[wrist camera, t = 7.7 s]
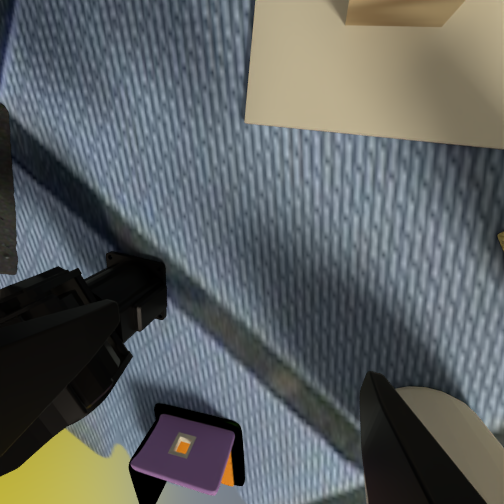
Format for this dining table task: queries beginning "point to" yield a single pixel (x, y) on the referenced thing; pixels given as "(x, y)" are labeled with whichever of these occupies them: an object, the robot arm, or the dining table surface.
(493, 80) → the felt mat
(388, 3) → the tower base block
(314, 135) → the dining table surface
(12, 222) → the dark slate chunk
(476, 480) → the bottle
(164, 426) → the miniature room corner
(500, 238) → the candy box
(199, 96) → the dining table surface
